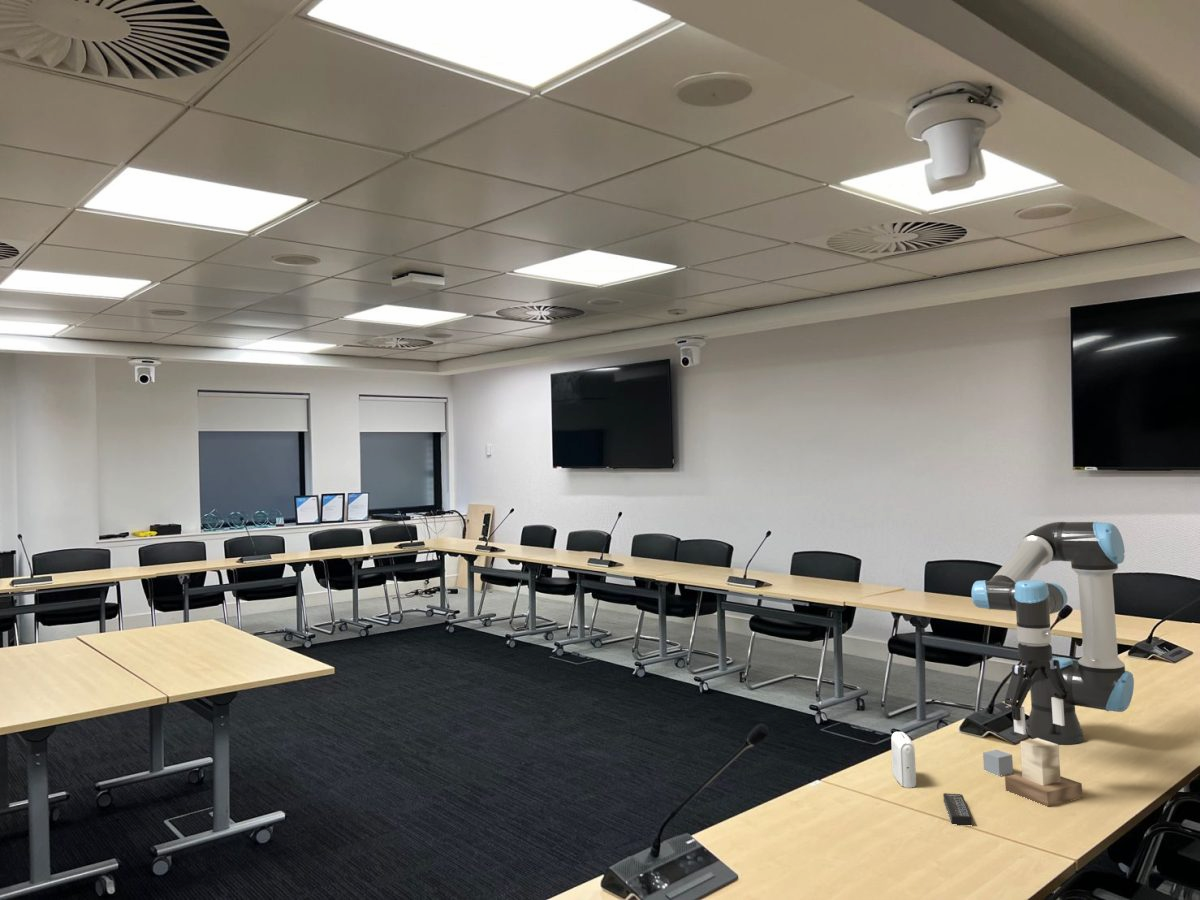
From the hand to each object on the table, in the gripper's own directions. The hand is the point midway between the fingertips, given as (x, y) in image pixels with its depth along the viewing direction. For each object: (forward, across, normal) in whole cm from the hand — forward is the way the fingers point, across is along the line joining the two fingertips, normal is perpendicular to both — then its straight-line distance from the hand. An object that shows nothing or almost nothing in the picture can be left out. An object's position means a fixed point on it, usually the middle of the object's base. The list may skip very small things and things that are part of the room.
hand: (1039, 728), depth 206 cm
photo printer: (+16, -23, +23) cm, 36 cm away
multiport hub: (+17, -27, +1) cm, 32 cm away
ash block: (+13, 0, 0) cm, 13 cm away
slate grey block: (+16, +3, +16) cm, 23 cm away
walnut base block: (+17, 0, 0) cm, 17 cm away
